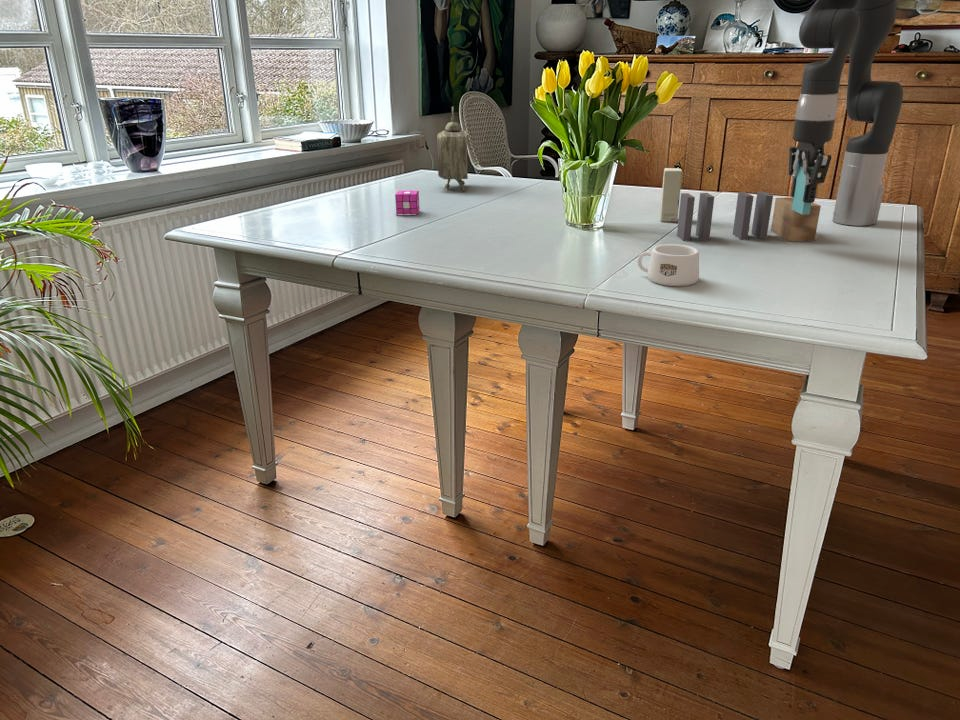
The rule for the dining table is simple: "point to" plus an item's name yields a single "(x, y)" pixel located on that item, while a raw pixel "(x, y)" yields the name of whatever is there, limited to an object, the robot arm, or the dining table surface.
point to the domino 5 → (800, 193)
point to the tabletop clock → (452, 153)
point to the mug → (672, 265)
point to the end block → (794, 221)
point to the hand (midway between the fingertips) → (802, 199)
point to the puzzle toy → (407, 202)
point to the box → (670, 194)
